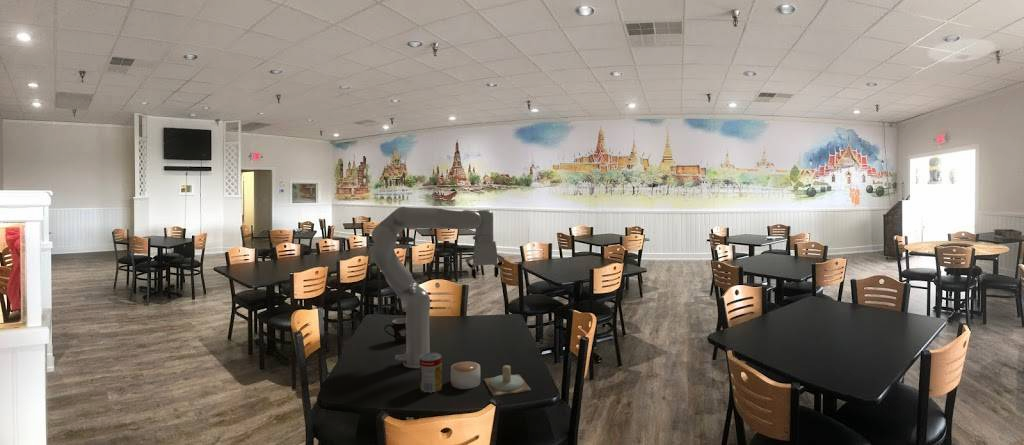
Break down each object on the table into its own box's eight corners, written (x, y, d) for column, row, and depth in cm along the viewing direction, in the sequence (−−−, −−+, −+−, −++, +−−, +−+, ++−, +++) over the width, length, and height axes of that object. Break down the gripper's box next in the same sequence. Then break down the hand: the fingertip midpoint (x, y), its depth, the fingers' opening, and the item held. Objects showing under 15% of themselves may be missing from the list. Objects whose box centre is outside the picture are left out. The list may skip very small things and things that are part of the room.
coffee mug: (413, 338, 228) (413, 318, 228) (408, 344, 220) (407, 323, 219) (390, 338, 230) (389, 317, 229) (383, 344, 221) (383, 323, 220)
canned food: (443, 383, 178) (442, 352, 177) (440, 392, 170) (440, 360, 169) (422, 383, 177) (421, 352, 176) (418, 393, 170) (417, 360, 169)
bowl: (453, 390, 172) (453, 373, 171) (448, 378, 182) (448, 362, 181) (483, 386, 175) (483, 370, 174) (476, 375, 185) (476, 359, 185)
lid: (495, 392, 168) (494, 375, 168) (487, 379, 180) (486, 362, 179) (527, 388, 172) (527, 371, 171) (517, 375, 183) (517, 359, 182)
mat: (493, 396, 167) (493, 394, 167) (483, 380, 180) (483, 378, 180) (530, 390, 171) (530, 389, 171) (519, 375, 184) (519, 374, 184)
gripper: (466, 240, 201) (467, 280, 202) (506, 238, 205) (506, 277, 207) (463, 238, 208) (464, 277, 209) (501, 236, 213) (502, 274, 214)
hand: (485, 277), depth 208 cm, fingers open, 9 cm apart
